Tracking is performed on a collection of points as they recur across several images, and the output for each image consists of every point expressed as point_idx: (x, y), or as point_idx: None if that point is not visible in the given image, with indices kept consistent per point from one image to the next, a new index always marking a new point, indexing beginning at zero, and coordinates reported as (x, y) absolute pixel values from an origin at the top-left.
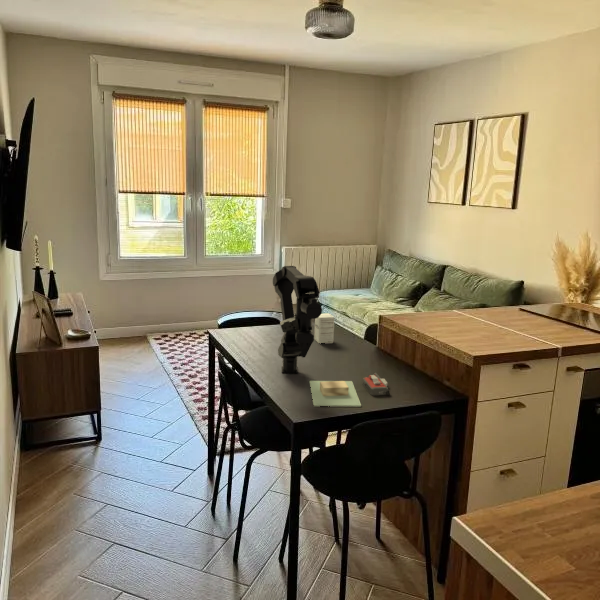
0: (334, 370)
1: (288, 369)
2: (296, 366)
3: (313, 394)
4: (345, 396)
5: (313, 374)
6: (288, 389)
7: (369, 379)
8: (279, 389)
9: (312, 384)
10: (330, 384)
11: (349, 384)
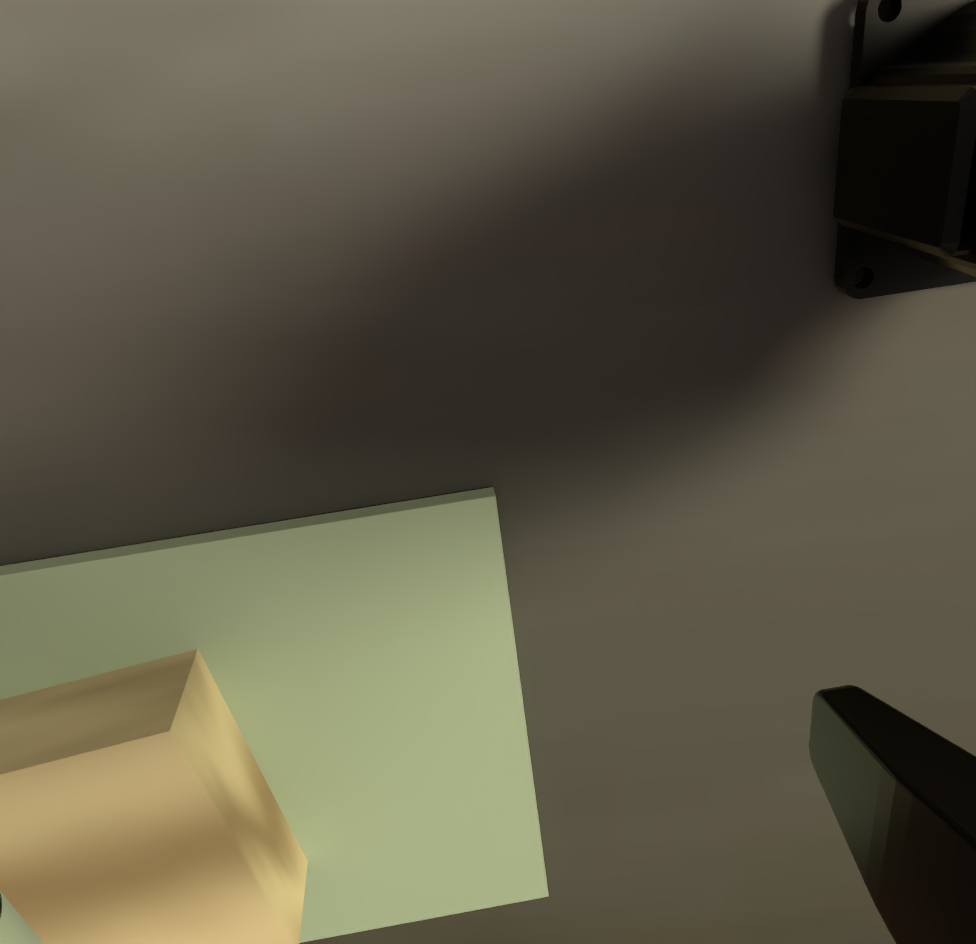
0: (912, 710)
1: (867, 128)
2: (969, 274)
3: None
4: None
5: (789, 505)
6: (107, 208)
7: None
8: (47, 33)
9: (359, 547)
10: (108, 849)
11: (447, 887)
